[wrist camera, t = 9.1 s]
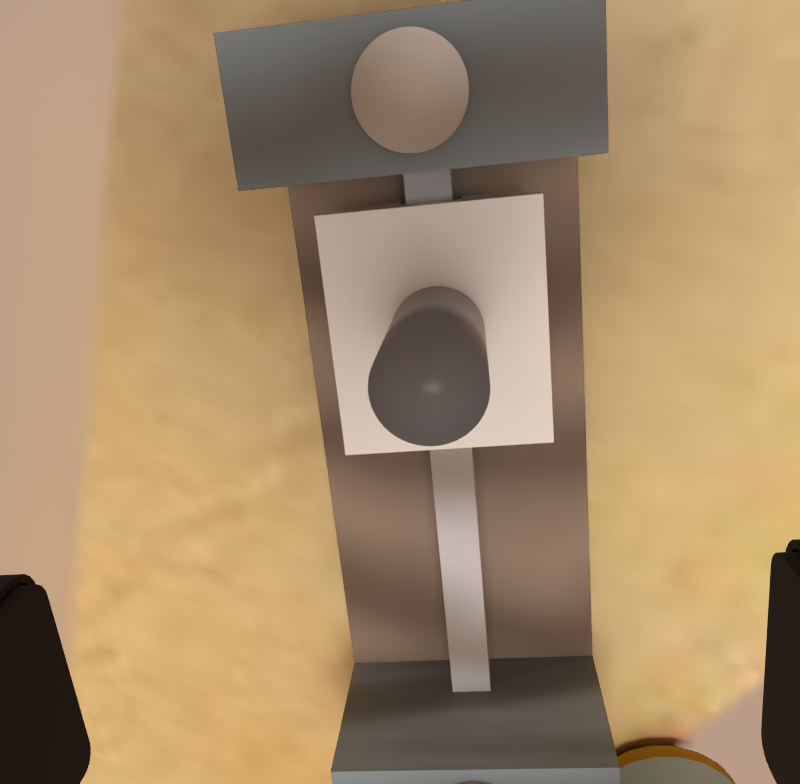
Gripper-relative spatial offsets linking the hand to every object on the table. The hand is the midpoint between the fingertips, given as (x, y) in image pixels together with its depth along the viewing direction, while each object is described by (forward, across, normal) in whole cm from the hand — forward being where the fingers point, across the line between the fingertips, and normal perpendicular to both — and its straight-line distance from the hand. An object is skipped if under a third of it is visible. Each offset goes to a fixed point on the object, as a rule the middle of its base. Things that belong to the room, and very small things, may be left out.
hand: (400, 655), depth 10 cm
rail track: (+20, 0, +5) cm, 21 cm away
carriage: (+19, 0, 0) cm, 19 cm away
